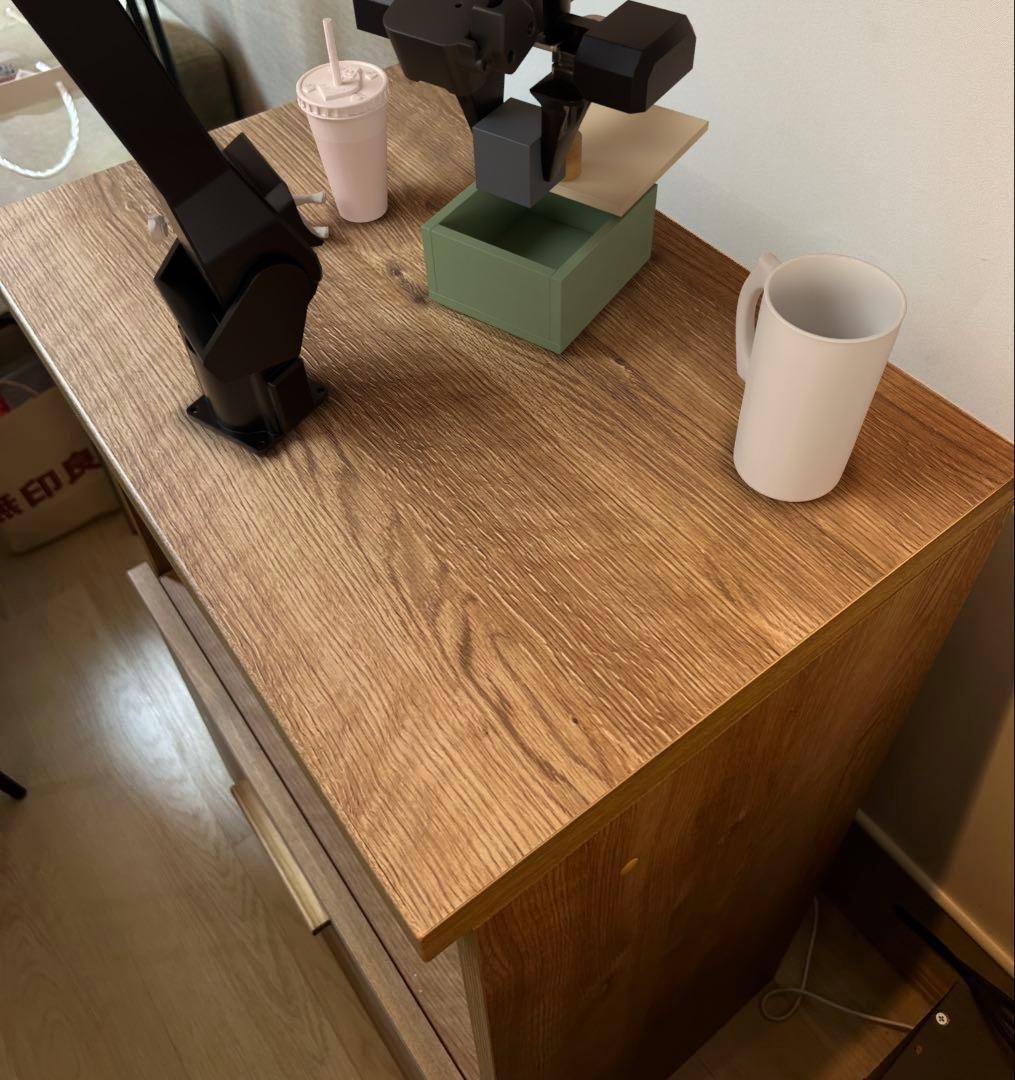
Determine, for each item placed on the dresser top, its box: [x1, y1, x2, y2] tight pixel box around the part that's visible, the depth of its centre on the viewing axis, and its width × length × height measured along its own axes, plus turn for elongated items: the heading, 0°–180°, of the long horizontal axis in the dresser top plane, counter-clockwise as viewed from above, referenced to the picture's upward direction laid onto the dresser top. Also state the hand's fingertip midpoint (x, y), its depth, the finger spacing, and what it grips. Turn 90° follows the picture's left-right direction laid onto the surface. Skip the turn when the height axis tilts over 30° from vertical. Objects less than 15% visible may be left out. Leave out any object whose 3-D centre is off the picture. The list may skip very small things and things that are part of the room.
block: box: [472, 96, 566, 208], centre depth 58 cm, size 4×4×4 cm
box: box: [420, 180, 659, 355], centre depth 66 cm, size 11×12×6 cm
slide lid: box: [549, 103, 710, 217], centre depth 66 cm, size 11×12×3 cm
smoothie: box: [295, 17, 392, 224], centre depth 68 cm, size 6×6×14 cm
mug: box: [732, 252, 908, 503], centre depth 53 cm, size 10×7×12 cm, turn 25°
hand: (520, 168), depth 59 cm, fingers closed on block, 4 cm apart
